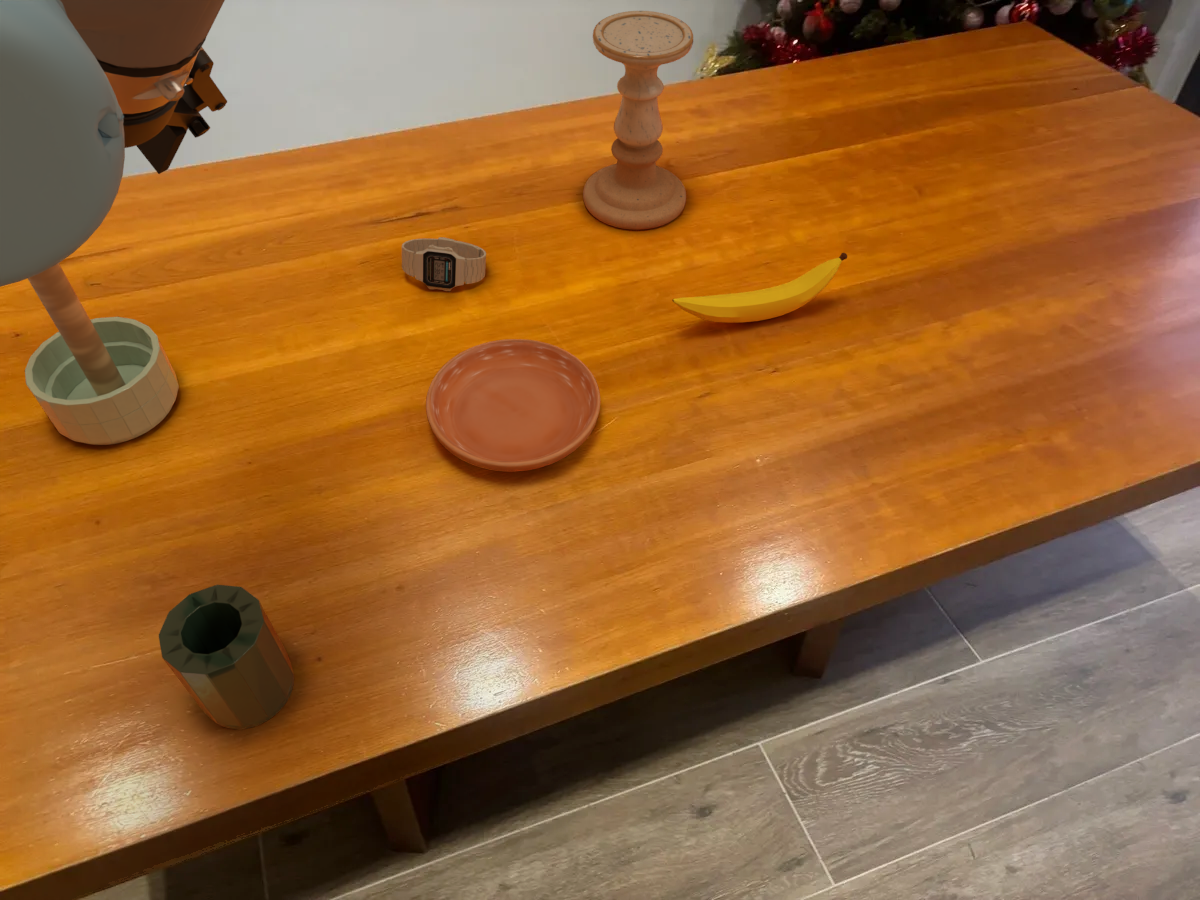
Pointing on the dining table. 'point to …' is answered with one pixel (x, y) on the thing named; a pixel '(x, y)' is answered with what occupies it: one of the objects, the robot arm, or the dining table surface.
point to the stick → (77, 329)
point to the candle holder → (638, 122)
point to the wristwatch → (443, 262)
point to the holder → (227, 656)
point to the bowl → (115, 412)
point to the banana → (763, 298)
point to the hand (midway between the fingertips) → (61, 199)
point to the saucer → (513, 404)
